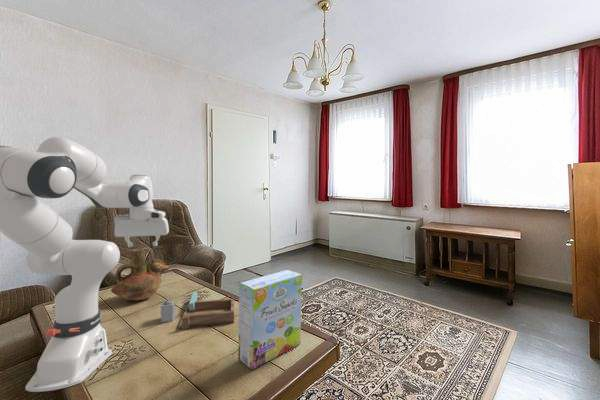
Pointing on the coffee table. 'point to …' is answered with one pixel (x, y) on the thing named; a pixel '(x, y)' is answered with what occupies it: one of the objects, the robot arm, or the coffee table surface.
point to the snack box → (269, 317)
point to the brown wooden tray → (208, 313)
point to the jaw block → (168, 311)
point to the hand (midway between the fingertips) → (142, 246)
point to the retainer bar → (192, 301)
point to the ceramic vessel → (139, 277)
